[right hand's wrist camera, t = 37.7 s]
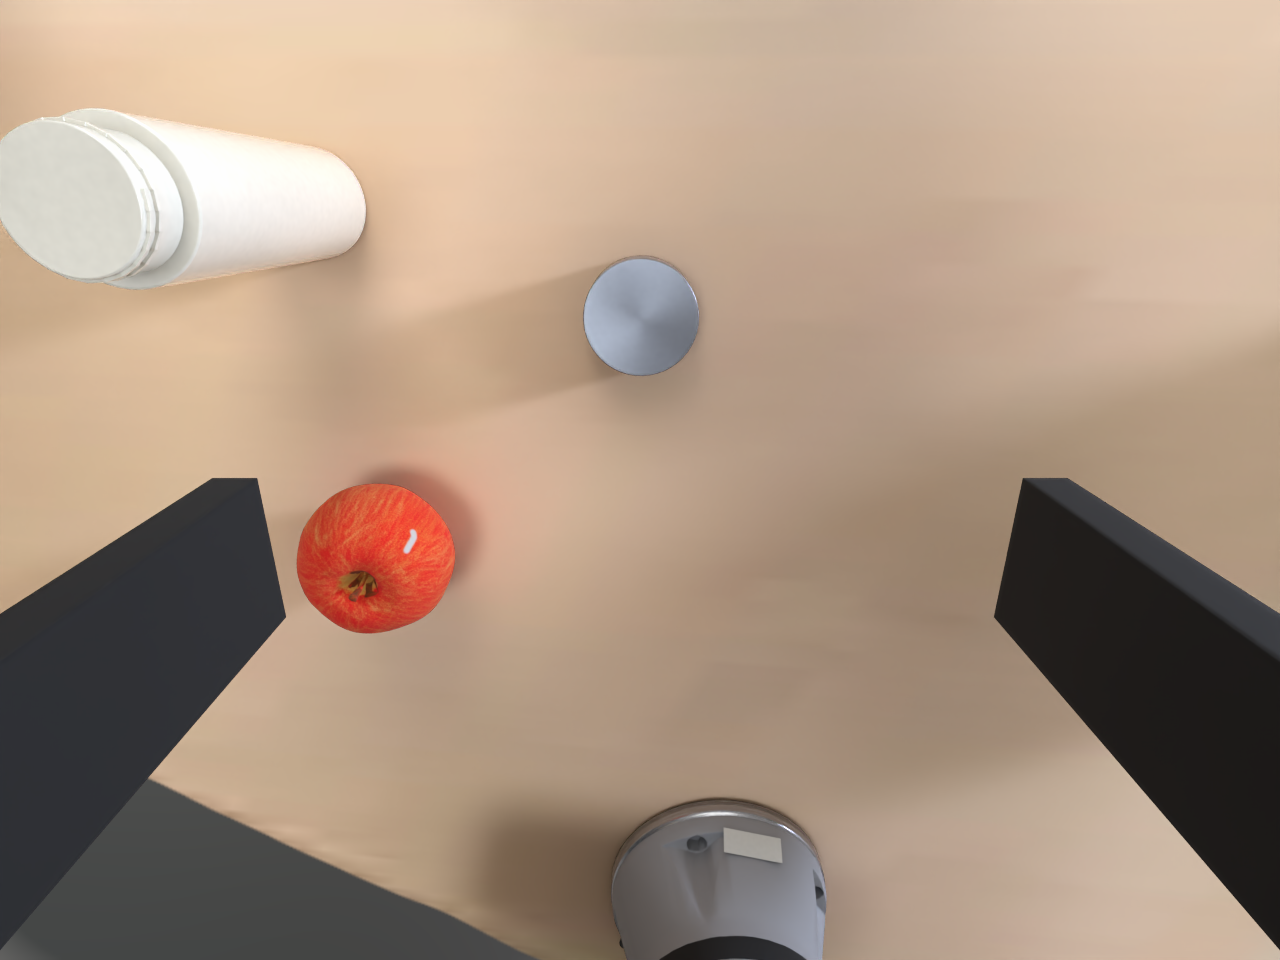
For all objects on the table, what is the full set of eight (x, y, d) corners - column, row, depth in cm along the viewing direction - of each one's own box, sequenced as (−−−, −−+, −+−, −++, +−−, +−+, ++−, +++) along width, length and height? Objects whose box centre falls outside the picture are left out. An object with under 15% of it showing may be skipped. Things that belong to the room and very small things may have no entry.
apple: (401, 437, 40) (346, 492, 32) (495, 542, 42) (464, 615, 35) (301, 515, 41) (226, 583, 34) (396, 611, 44) (346, 695, 36)
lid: (695, 253, 36) (699, 256, 34) (695, 365, 38) (699, 374, 36) (583, 257, 36) (579, 260, 34) (589, 368, 39) (586, 377, 36)
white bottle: (272, 260, 36) (7, 300, 21) (248, 147, 35) (-62, 101, 19) (374, 256, 36) (183, 294, 21) (356, 143, 35) (131, 94, 19)
